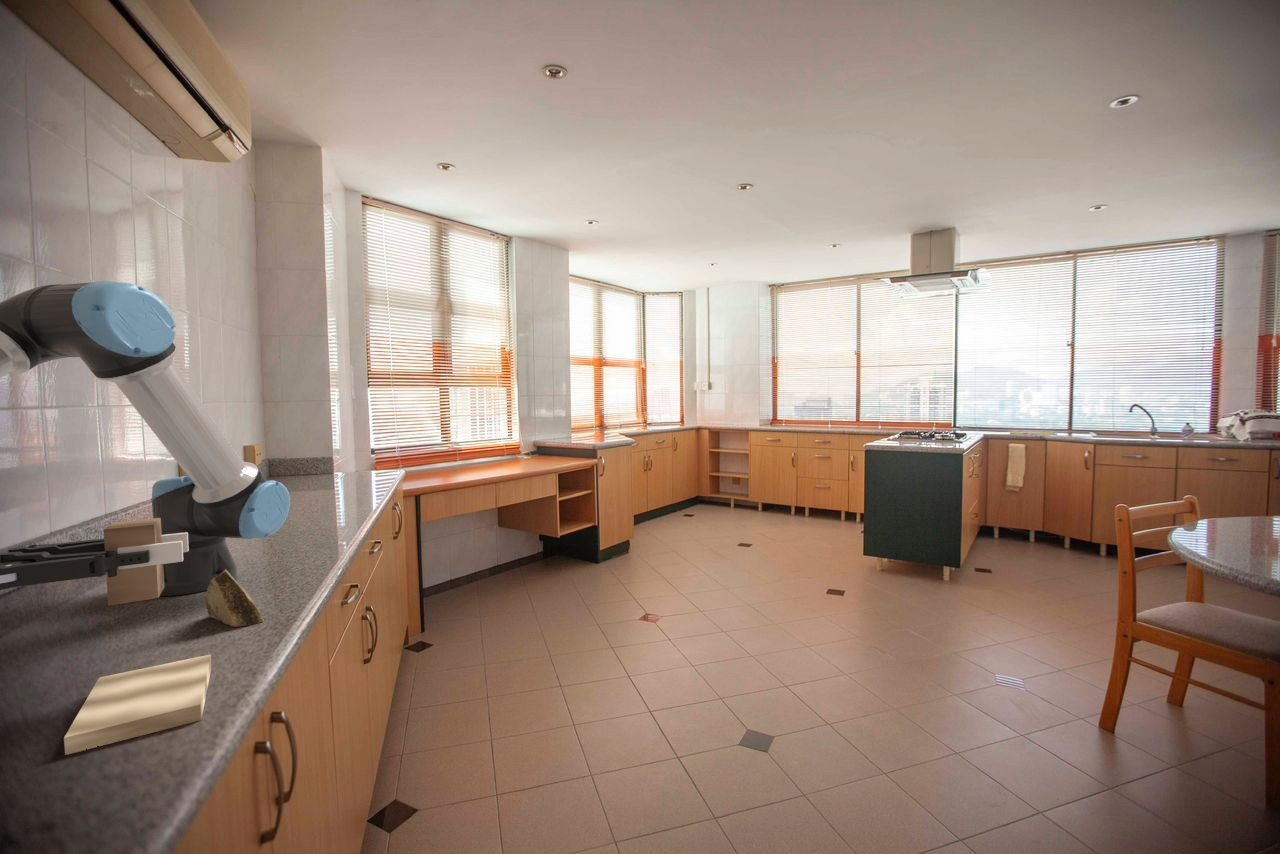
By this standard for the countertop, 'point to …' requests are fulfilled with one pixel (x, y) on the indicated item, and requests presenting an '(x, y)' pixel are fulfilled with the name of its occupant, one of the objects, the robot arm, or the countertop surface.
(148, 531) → the walnut block
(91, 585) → the countertop surface
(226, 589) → the rock
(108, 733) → the cutting board
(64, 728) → the countertop surface
